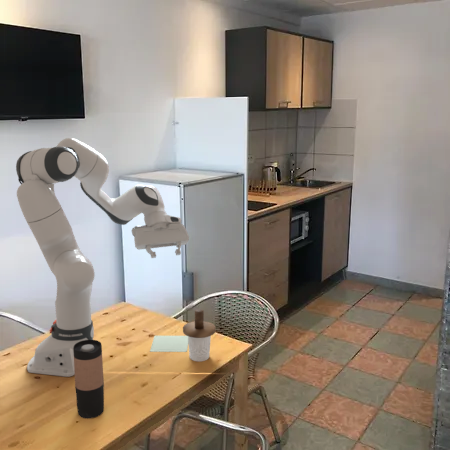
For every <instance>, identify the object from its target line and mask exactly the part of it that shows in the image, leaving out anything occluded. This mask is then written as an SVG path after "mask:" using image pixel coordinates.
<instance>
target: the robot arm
mask: <svg viewBox="0 0 450 450" xmlns="http://www.w3.org/2000/svg"><path fill="white" fill-rule="evenodd" d="M15 165H16V166H15V168H16V169H15V170H16V175H17V177H18V183H19V184H20V185H19V186H18V187H17V190H16V197H17V202H18V204H19V207H20V210H21V212H22V216H23V217H24V219H25V221H26V223H27V225H28V227H29V229H30V231H31V233H32V234H33V236H34V238H35V240H36V242H37V244H38V246H39V249H40V251H41V253H42V254H43V257H44V259H45V262H46V264H47V266H48V267H49V269H50V271H51V273H52V274H53V275H54V277H55V279H56V288H57V289H56V295H55V296H56V297H55V298H56V299H55V301H54V305H55V320H54V321H53V322H52V325H51V326H50V328H49V334H50V335H48V336H47V337H46V338H45V339H44V340H42V341H41V342H40V343H39V344H38V345H37V347H36V348H35V352H34V354H33V357H31V359H29V361H28V363H27V367H26V368H27V372H28V373H32V374H38V375H39V374H41V375H48V376H49V375H50V376H57V377H67V378H68V377H73V376H75V372H74V352H73V347H74V345H75V344H76V343H78V342H80V341H84V340H94V336H95V333H94V332H95V330H94V329H95V328H94V323H93V322H94V321H93V319H92V304H91V299H92V297H91V296H92V288H93V282H94V279H95V269H94V266H93V264H92V261H90V259H89V258H87V256H85V254H84V253H83V252H82V250H81V248H79V245H78V243H77V240H76V236H75V235H74V231H73V228H72V226H71V224H70V221H69V219H68V217H67V216H66V213H65V212H64V211H65V210H63V208H62V207H63V206H62V205H61V204H60V202H59V200H58V198H57V196H56V193H55V184H57V183H64V182H67V181H69V180H71V179H73V177H75V178H76V179H78V180H79V181H80V184H79V186H80V188H81V190H82V192H83V193H84V195H86V196H87V197H88V199H90V200H91V202H93V203H94V204H95V206H97V207H99V208H100V209H101V210H102V211H103V212H104V213H105V214H106V215H107V216H108V218H109V219H110V220H111V221H112V222H113V223H115V224H118V225H122V226H125V225H127V224H128V223H129V222H131V221H132V220H133V219H134V218H136V217H137V216H139V215H141V214H143V217H144V218H143V220H144V223H145V225H135V226H134V227H132V229H131V234H132V236H133V238H134V241H133V242H134V247H135V249H137V250H139V251H140V250H145V252H147V253H148V255H150V258H151V259H156V257H157V253H156V251H153V250H152V249H158V248H166V247H167V248H168V247H175V246H176V249H175V251H174V253H175V256H181V254H182V252H181V247H182V246H184V245H185V246H186V245H187V244H188V242H189V240H190V236H189V234H188V231H187V228H186V227H185V225H184V224H183V223H182V218H181V217H180V216H179V217H178V216H173V215H169V214H167V211H166V210H165V204H164V200H163V198H162V195H161V193H160V191H159V190H158V188H157V187H155V186H153V185H144V184H140V183H139V184H136V185H134V186H132V187H131V188H130V189H128V190H127V191H126V192H124V193H122V194H121V195H119V196H118V197H115V198H114V197H113V198H111V197H110V196H109V195H108V194H107V193H106V192H105V191H104V190H102V187H104V184H105V183H106V181H107V179H108V176H109V171H110V169H109V163H108V161H107V159H106V158H105V157H104V155H103V154H101V153H100V152H98V151H97V150H95V148H93V147H91V146H90V145H87V144H86V143H84V142H82V141H80V140H78V139H76V138H73V137H66V138H63V139H62V140H60V141H59V142H58V143H57V145H56V146H54V147H41V148H37V149H34V150H30V151H29V150H28V151H27V152H24V153H23V154H22V155H20V156H19V158H18V159H17V161H16V164H15Z"/></svg>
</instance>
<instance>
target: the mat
mask: <svg viewBox="0 0 450 450" xmlns="http://www.w3.org/2000/svg"><path fill="white" fill-rule="evenodd" d="M188 349H189V345H188V336H186V335H154V337H153V339H152V343H151V346H150V350H149V352H150V353H151V352H152V353H166V352H167V353H186V352H188Z"/></svg>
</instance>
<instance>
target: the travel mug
mask: <svg viewBox="0 0 450 450" xmlns="http://www.w3.org/2000/svg"><path fill="white" fill-rule="evenodd" d="M102 349H103V346H102V342H101V341H99V340H96V339H93V340H84V341H80V342H78V343H76V344H75V345H74V347H73V352H74V372H75V375H74V387H75V398H76V399H75V400H76V409H77V415H78V417H80V418H82V419H87V420H88V419H94V418H97V417H99V416H101V415H102V414H103V413H104V411H105V389H104V388H105V384H104V383H105V382H104V380H105V379H104V361H103V350H102Z"/></svg>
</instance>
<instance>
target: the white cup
mask: <svg viewBox="0 0 450 450" xmlns="http://www.w3.org/2000/svg"><path fill="white" fill-rule="evenodd" d="M211 339H212V335H211V336H209V337H205V338H193V337H189V336H188V353H189V356H188V357H189V359H190V360H192V361H194V362H205V361H207V360H208V359H209V358H210V351H211V341H212V340H211Z"/></svg>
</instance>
